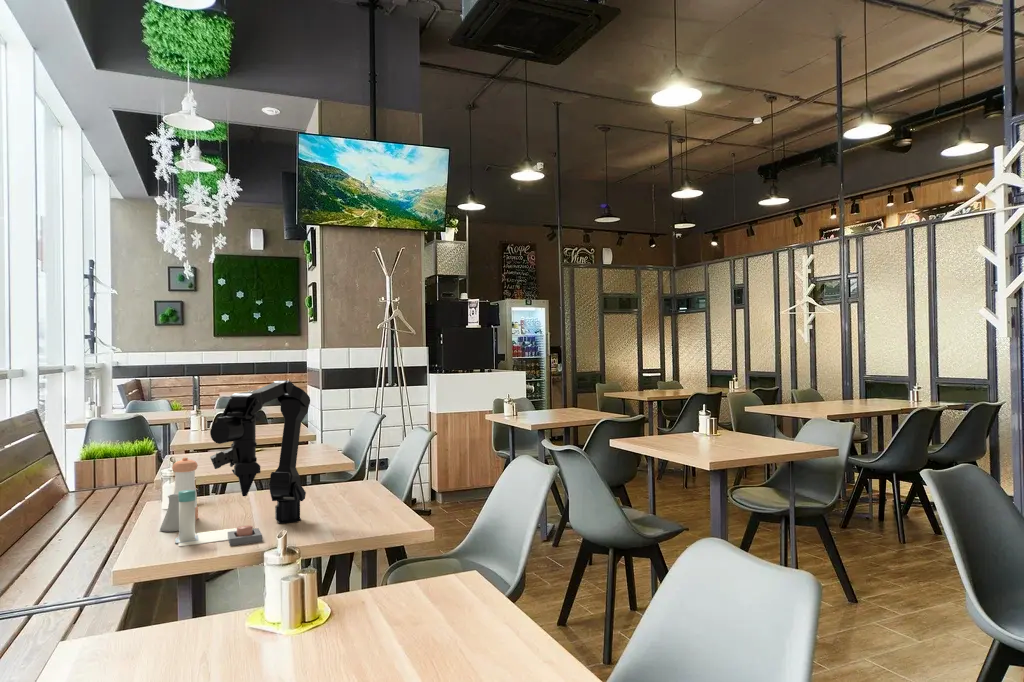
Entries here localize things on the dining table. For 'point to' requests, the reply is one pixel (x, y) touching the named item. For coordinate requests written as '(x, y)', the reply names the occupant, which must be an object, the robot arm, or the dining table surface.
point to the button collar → (244, 537)
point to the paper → (207, 537)
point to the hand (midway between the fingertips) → (244, 496)
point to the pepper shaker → (185, 477)
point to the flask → (171, 515)
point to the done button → (244, 530)
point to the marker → (186, 514)
